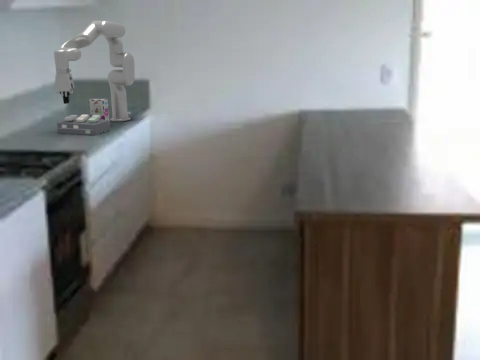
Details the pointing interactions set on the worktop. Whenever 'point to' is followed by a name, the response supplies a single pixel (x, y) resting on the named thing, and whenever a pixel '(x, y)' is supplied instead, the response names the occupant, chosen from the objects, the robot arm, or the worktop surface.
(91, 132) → the console
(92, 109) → the candy bar box
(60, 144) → the worktop surface
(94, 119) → the rocker sage
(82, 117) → the rocker ivory
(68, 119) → the rocker grey
